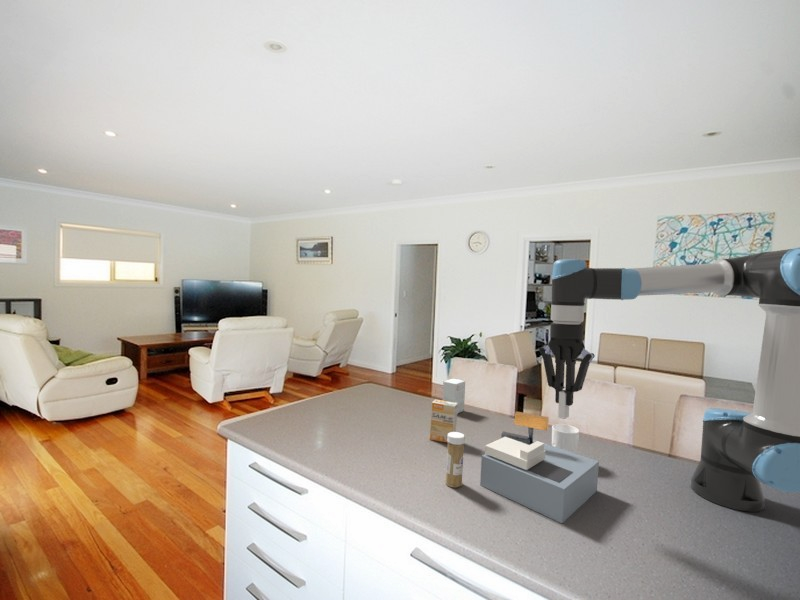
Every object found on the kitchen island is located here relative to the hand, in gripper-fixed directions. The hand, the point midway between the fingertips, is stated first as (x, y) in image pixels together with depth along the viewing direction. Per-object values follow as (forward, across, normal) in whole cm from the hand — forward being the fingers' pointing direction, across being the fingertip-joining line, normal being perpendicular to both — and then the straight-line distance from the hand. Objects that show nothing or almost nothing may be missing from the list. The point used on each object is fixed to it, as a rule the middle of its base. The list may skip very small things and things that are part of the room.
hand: (563, 417), depth 97 cm
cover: (+13, +12, +2) cm, 18 cm away
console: (+21, +7, -2) cm, 23 cm away
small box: (+21, +61, -35) cm, 73 cm away
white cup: (+22, +10, -25) cm, 35 cm away
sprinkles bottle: (+21, +23, +14) cm, 34 cm away
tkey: (+13, +14, -8) cm, 21 cm away
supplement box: (+21, +44, -8) cm, 49 cm away
